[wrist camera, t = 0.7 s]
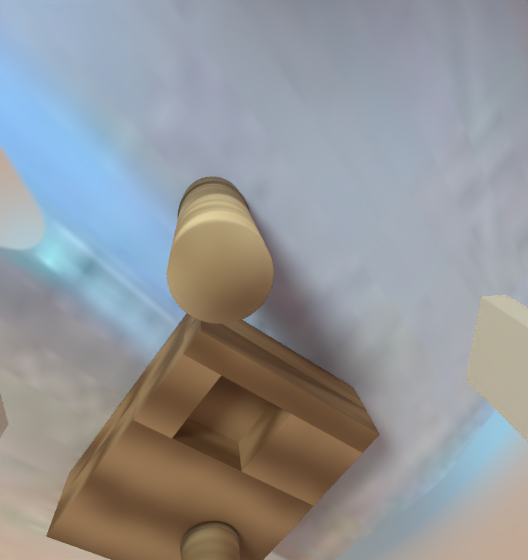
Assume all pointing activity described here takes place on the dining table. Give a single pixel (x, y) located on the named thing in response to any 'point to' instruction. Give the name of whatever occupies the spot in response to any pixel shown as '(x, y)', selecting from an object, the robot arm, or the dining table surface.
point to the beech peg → (218, 255)
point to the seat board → (212, 451)
